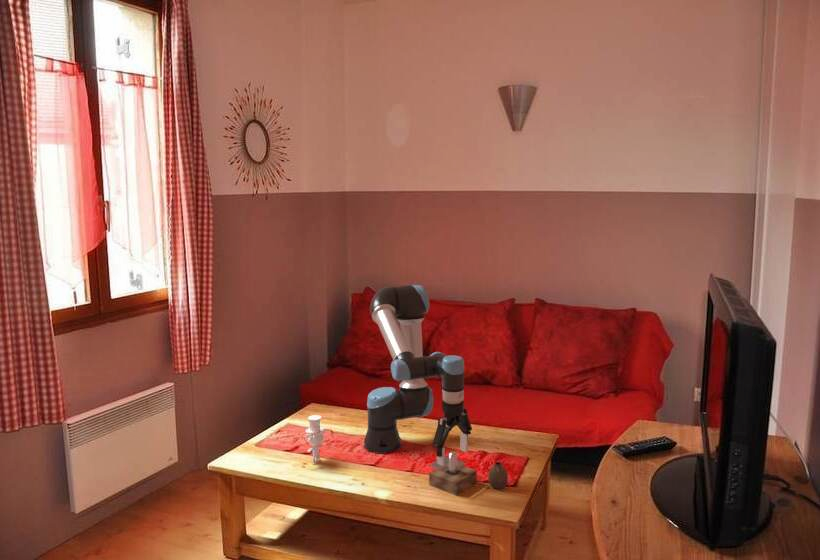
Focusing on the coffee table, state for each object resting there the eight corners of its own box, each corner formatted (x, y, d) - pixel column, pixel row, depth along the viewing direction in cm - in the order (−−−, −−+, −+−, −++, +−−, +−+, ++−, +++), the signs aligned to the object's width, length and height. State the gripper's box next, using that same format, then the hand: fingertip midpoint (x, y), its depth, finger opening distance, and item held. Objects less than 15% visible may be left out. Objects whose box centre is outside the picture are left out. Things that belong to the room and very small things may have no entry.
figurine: (314, 454, 257) (313, 411, 254) (331, 458, 254) (330, 414, 251) (300, 466, 247) (298, 420, 244) (317, 469, 244) (316, 423, 241)
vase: (486, 482, 232) (486, 459, 231) (505, 481, 233) (505, 458, 232) (490, 491, 226) (490, 468, 224) (509, 490, 226) (510, 467, 225)
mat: (429, 465, 246) (429, 464, 246) (445, 456, 253) (445, 456, 253) (450, 473, 240) (450, 472, 239) (466, 464, 247) (466, 463, 247)
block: (429, 486, 230) (429, 472, 229) (449, 474, 239) (449, 461, 238) (456, 496, 222) (456, 483, 222) (476, 483, 232) (476, 470, 231)
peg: (447, 485, 231) (447, 453, 229) (452, 482, 233) (452, 450, 231) (453, 487, 229) (453, 455, 227) (458, 484, 231) (459, 452, 229)
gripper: (439, 413, 214) (439, 473, 218) (482, 393, 233) (481, 448, 237) (421, 408, 219) (422, 467, 223) (464, 388, 237) (464, 443, 241)
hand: (452, 457), depth 230 cm, fingers open, 13 cm apart
